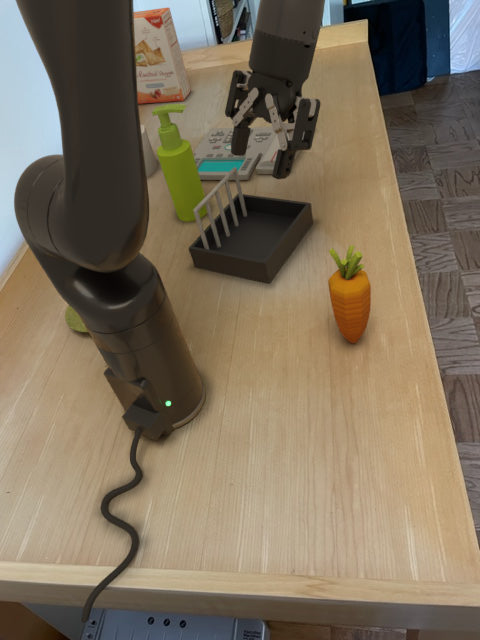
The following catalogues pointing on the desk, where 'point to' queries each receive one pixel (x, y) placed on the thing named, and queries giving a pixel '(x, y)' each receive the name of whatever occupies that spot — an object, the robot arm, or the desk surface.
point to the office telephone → (220, 161)
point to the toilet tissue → (148, 153)
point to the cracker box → (158, 58)
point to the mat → (74, 320)
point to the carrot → (350, 295)
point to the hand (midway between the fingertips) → (258, 166)
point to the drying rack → (249, 233)
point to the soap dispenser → (179, 165)
